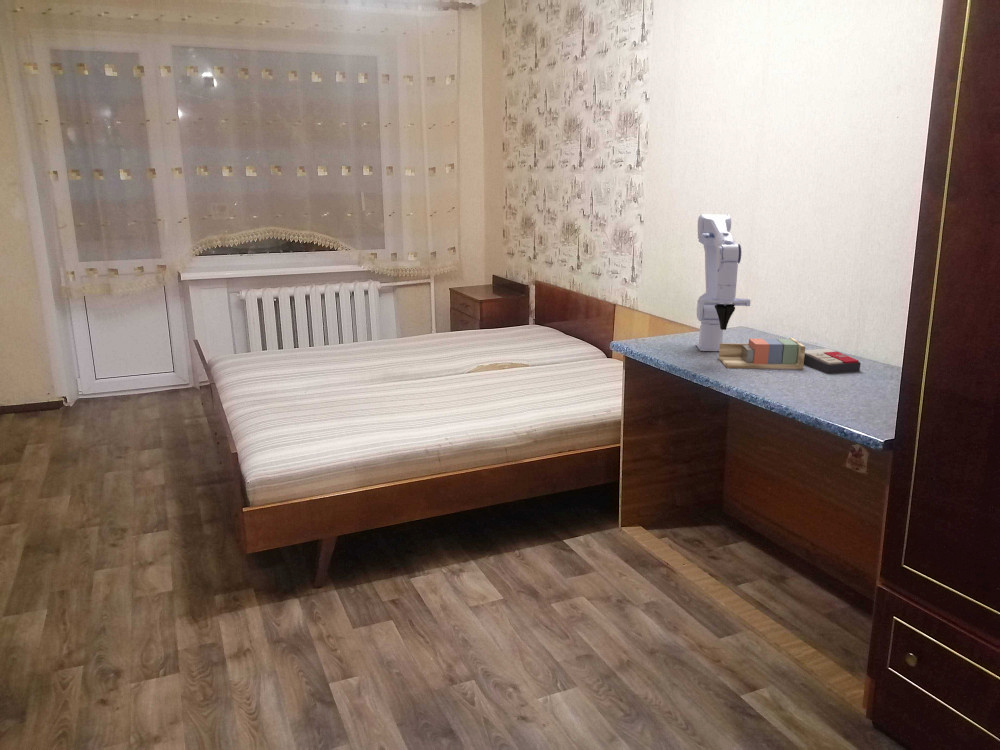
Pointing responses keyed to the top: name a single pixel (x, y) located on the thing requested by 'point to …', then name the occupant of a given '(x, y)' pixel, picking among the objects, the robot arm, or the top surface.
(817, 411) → the top surface
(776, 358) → the book
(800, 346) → the shelf
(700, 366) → the top surface
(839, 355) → the calculator
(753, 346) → the orange rectangular block
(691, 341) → the top surface
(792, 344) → the book
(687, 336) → the top surface
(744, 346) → the bookend
